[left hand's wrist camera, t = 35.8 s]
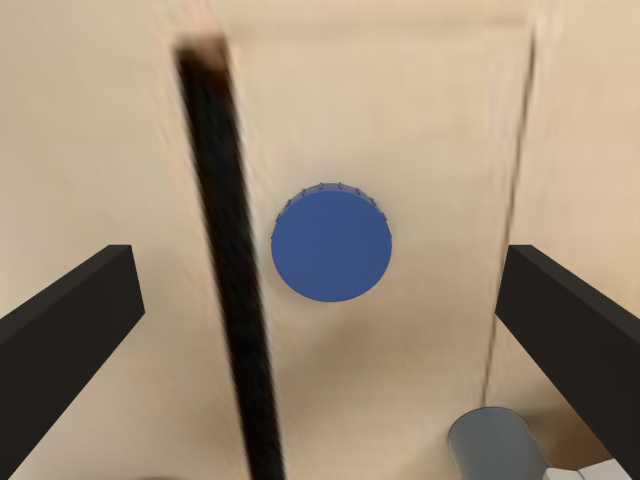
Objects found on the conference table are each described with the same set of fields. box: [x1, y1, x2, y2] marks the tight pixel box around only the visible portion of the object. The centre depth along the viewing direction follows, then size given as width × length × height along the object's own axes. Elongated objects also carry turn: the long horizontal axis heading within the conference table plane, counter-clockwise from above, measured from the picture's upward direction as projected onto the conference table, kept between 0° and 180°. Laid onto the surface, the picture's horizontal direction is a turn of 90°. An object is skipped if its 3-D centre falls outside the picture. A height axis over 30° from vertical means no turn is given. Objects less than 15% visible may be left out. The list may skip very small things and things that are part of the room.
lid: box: [271, 182, 392, 302], centre depth 18 cm, size 6×6×2 cm
